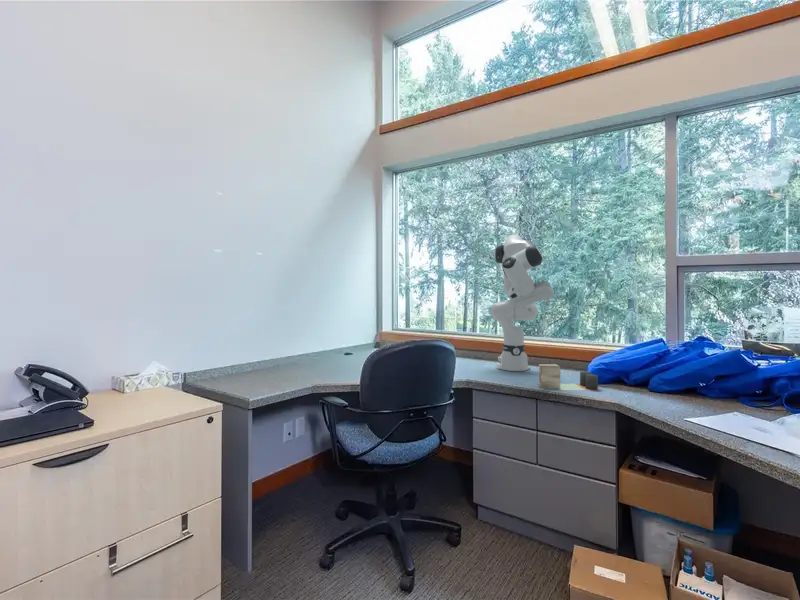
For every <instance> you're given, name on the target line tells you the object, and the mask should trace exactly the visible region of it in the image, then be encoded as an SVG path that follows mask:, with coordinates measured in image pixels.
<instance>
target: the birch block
mask: <svg viewBox="0 0 800 600" xmlns="http://www.w3.org/2000/svg"><path fill="white" fill-rule="evenodd" d="M538 384H539V385H538V387H540V388H541V389H543V388H560V384H561V366H560V365H558V364H556V363H554V364H552V363H551V364H549V363H548V364H547V363H546V364H544V363H541V364H540V363H539V364H538Z"/></svg>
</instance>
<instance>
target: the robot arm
mask: <svg viewBox="0 0 800 600" xmlns="http://www.w3.org/2000/svg"><path fill="white" fill-rule="evenodd" d="M493 257H494V258H493V259H494V260H495V262H496V263H497V264H500V265H501V270H502V272H503V291H504V293H505V294H506V295H507V296H508V299H509V300H510V301H507V300H505V301H497V302H494V303H493V304H492V306H491V308H490V314H491V316H492V318H493V319H494V320H496V321H497V322H498V323H499V325H500V326H501V328H502V331H503V343H502V344H503V345H502V352H501V354H500V355H499V356H498V357H497V360H498V361H499V362H497V363H496V368H497V370H503V371H509V372H510V371H511V372H524V371H528V370H531V367H530V366H528V365H529V364H528V362H529V361H528V355H527V353H526V352H525V350H526V348H525V333H524V331H523V329H522V328H520V327H519V326H517V325H515V324H514V323H513V322H514V321H520V322H521V321H522V322H523V321H526V322H527V321H532V320H534V319H536V317H537V316H538V312H539V311H538V310H539V309H538V307H537V305H536V303H539V302H541V301H544V300H545V303H544V304H545V306H546V307H549V306H551V303H550V299H551V298H553V297H554V295H555V290H554V288H553V287H552V286H551V284H550V282H549V281H547V280H540V281H538V282H534V280H533V278H532V277H531V276H530V275H529V274H528V271H529V270H530V269H533V268H536V267H538V266H540V265H542V262H543V259H544V258H543V254H542V252H541V250H540V249H539V247H537V246H535V245H534V244H533V243H532V242H531V241H530V240H529V239H523V238H522V237H521V236H520V235H519V234H510V235H509V236H507V238H506V239H505V240H504V243H501V244H500V245H497V246H496V247H495V248H494V252H493Z"/></svg>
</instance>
